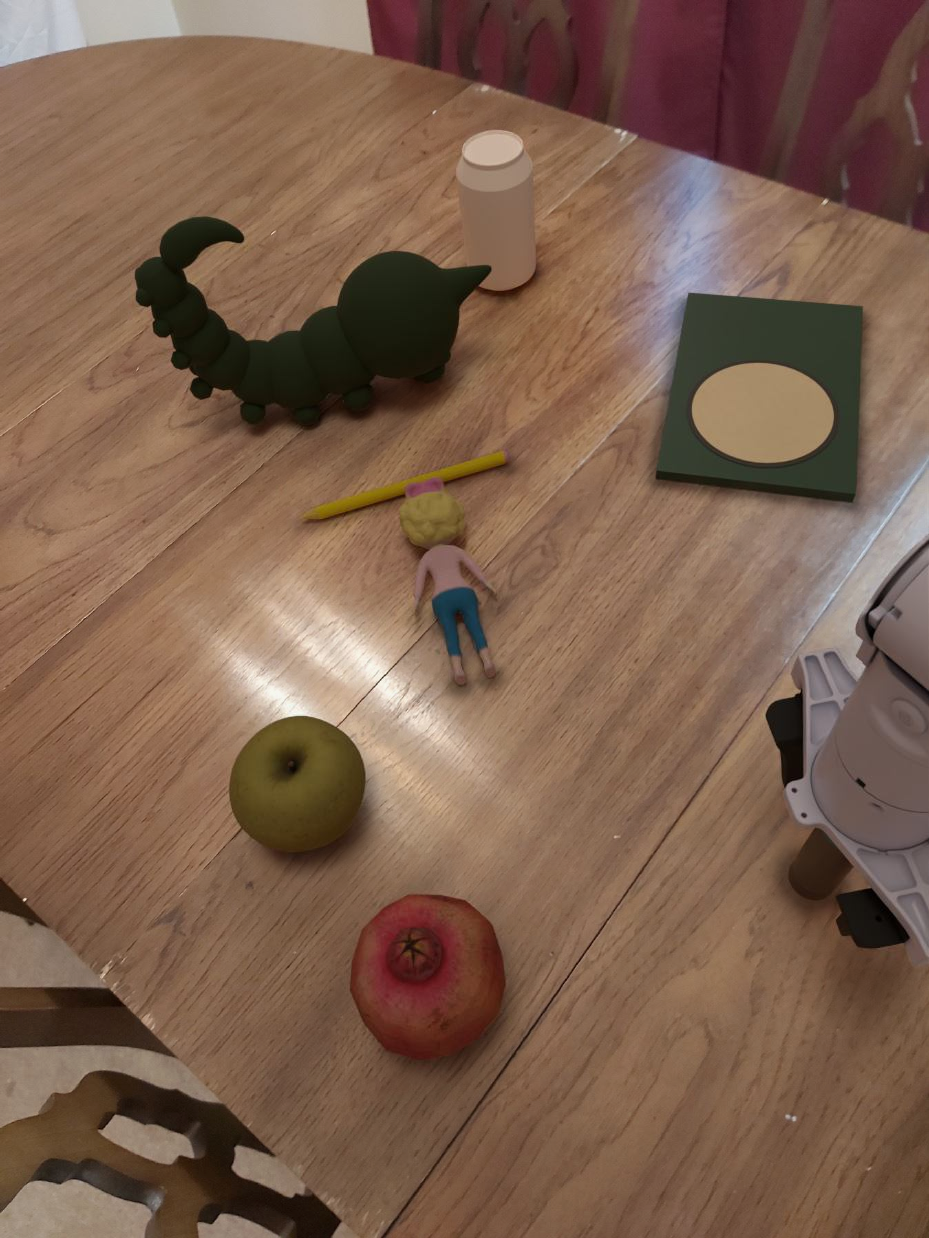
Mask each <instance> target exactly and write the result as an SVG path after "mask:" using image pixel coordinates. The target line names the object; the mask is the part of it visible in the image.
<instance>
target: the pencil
mask: <svg viewBox="0 0 929 1238" xmlns="http://www.w3.org/2000/svg"><path fill="white" fill-rule="evenodd" d="M509 462H510V460H509V455H508V452H507V450H506V449H503V450H500V451H496V452H493V453H490V454H487V455H484V456H480V457H477V458H474V459H471V460H470V459H469V460H468V461H464V462H460V463H456V464H454V465H450V466H447V467H443V468H440V469H437V470H434V471H431V472H427V473H424V474H421V475H417V476H414V477H410V478H408V479H404V480H401V481H398V482H394V483H390V484H388V485H385V486H381V487H378V488H374V489H371V490H367V491H364V492H360V493H357V494H354V495H351V496H348V497H344V498H341V499H338V500H335V501H331V502H327V503H325V504H321V505H318V506H314V507H313V508H312V509H310V510H309V511H307V512H306V513H305V514H303V515H301V516H300V517H299V518H298V519H299V520H323V519H326V518H329V517H330V518H331V517H332V516H336V515H340V514H343V513H346V512H350V511H352V510H355V509H359V508H362V507H366V506H368V505H372V504H377V503H379V502H382V501H386V500H389V499H393V498H396V497H399V496H402V495H405V486H406V485H407V484H409V483H414V482H420V483H421V482H425V481H426V480H428V479H430V478H434V477H440V478H441V479H442V481H443V483H445V482H449V481H451V480H456V479H458V478H461V477H465V476H468V475H472V474H475V473H478V472H479V473H480V472H483V471H486V470H489V469H491V468H495V467H498V466H503V465H505V464H509Z"/></svg>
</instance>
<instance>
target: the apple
mask: <svg viewBox="0 0 929 1238" xmlns="http://www.w3.org/2000/svg"><path fill="white" fill-rule="evenodd" d="M366 783H367V777H366V768H365V763H364V760H363V757H362V754H361V752H360V750H359V748H358V747H357V745H356V744H355V742H354V741H353V740H352V738H351V737H349V735H347V733H346V732H345V731H343V730H342V729H340V728H338V727H337V726H335V724H332V723H330V722H328V721H325V720H323V719H321V718H318V717H314V716H309V715H292V716H286V717H284V718H280V719H278V720H275V721H273V722H270V723H269V724H267V725H265V726H264V727H262V728H261V729H259V731H256V733H255V734H254V735H253V736H251V738H250V739H249V740H248V741H247V742H246V743H245V744H244V746H242V748H241V750H240V751H239V753H238V754H237V757H236V758H235V760H234V763H233V765H232V768H231V772H230V777H229V786H228V792H229V793H228V797H229V803H230V807H231V812H232V814H233V816H234V818H235V820H236V822H237V823H238V825H239V826H240V828H241V829H242V830H243V831H244V832H245V833H246V834H247V835H248V836H249V837H250V839H252V840H254V841H256V843H258V844H261V845H263V846H264V847H267V848H269V849H273V850H276V851H281V852H289V853H293V852H294V853H295V852H307V851H312V850H316V849H320V848H324V847H325V846H327V845H328V846H329V844H332V843H334V842H335V841H336V840H338V839H339V838H341V837H342V836H343V835H344V834H345V833H346V832H347V831H348V830H349V828H350V827H351V825H352V824H353V823H354V822H355V820H356V818H357V816H358V814H359V811H360V810H361V806H362V804H363V800H364V797H365V791H366Z"/></svg>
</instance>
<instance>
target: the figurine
mask: <svg viewBox="0 0 929 1238" xmlns="http://www.w3.org/2000/svg"><path fill="white" fill-rule="evenodd" d="M444 483H445V482H443V481H442V479H441V478H440V477H434V478H430V479H428V480H426V481H425V482H421V483H420V482H414V483H409V484H407V485H406V486H405V494H404V495H405V500H404V502H403V504H401V506H400V508H399V510H398V520H399V525H400V527H401V529H402V532H403V534H405V536H406V537H407V538H408V541H409V542H410V543H411V544H413V545H414V546H419V547H420V546H421V547H422V548H423V549H426V550H427V551H426V552H425V553H424V554H423V556H422V558H421V559H420V560H419V562H418V567H417V569H416V572H415V573H416V574H415V578H414V589H413V598H414V602H413V605H412V615H413V617H416V616H417V614H418V613H417V612H418V610H419V606H420V602H421V600H422V598H423V593H424V589H425V585H426V577H427V573H428V572H429V573H430V575H431V577H432V581H433V586H434V587H433V592H432V596H431V606H432V611H433V614H434V616H435V617H436V620H437V621H438V622H439V624H440V626H441V629H442V631H443V635H444V641H445V644H446V649H447V653H448V655H449V658H450V661H451V663H452V667H453V671H454V680H455V683H456V685H458V686H462V685H464V684H465V683H466V674H465V672H464V670H463V667H462V659H463V655H462V651H461V647H460V638H459V631H458V625H457V622H456V614H459V613H460V614H461V616H462V618H463V619H462V620H463V622H464V626H465V628H466V630H467V632H468V634H469V635H470V637H471V639H472V640H473V642H474V646H475V650H476V653H477V654H478V656H479V657H480V658H481V660H482V662H483V671H484V673H485V676H486V677H487V678H489V679H490V678H492V677H493V678H494V676H495V674H496V668H495V666H494V664H493V662H492V659H491V655H490V650H489V645H488V642H487V638H486V637H487V636H486V635H485V631H484V629H483V626H482V623H481V620H480V615H479V614H480V613H479V600H478V596H477V594H476V591H475V588H474V587H472V586H471V585H470V584H469V583H468V582H467V581H466V580H465V579H464V577H463V574H462V570H461V564H463V565H464V566H465V567H466V568H467V569H468V570H469V571H470V573H471V574H472V575H473V576H474V577H475V579H477V580H478V581H479V583H480V584H482V585H483V586H485V587H486V589H487V590H488V591H489V592H490V593H491V594H492V595H493V596H494V597H497V596H498V593H497V590H496V588H495V587H494V585H493V584H491V583H490V582H489V581H488V578H487V576H486V574H485V573H484V572H483V570H482V569H481V567H480V566H479V564H478V563H477V562H476V561H475V560H474V559H473V558H472V557H471V556H470V555H469V554H468V553H467V552H466V550H464V549H462V548H460V547H459V546H456V545H454V544H451V543H452V542H453V541H454V539H456V538H458V537H459V536H461V535H462V534H463V533H464V531H465V530H466V523H465V521H464V519H465V517H466V509H465V506H464V505H463V503H462V502H461V501H459V500H457V499H455V498H454V496H453V495H452V494H451V493H450V492H449V491H448V490H446V489H445V484H444Z"/></svg>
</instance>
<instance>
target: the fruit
mask: <svg viewBox="0 0 929 1238" xmlns="http://www.w3.org/2000/svg"><path fill="white" fill-rule="evenodd" d="M350 968H351V969H350V979H349V992H350V994H351V997H352V999H353V1001H354V1004H355V1006H356V1009H357V1011H358V1014H359V1016H360V1019H361V1021H362V1023H363V1025H364V1026H365V1027H366V1028H367V1030H368V1031H369V1032H370V1033H371V1035H372V1036H373V1037H374V1038H375V1039H376V1040H377V1042H378V1043H379V1045H381V1047H382V1048H383V1049H384V1050H385V1051H386V1052H388V1053H391V1054H396V1055H399V1056H403V1057H406V1058H409V1059H413V1060H417V1061H419V1062H423V1061H429V1060H433V1059H438V1058H442V1057H445V1056H451V1055H454V1054H456V1053H457V1052H458V1051H460V1050H462V1049H464V1048H465V1047H467V1046H468V1045H470V1044H472V1043H473V1042H475V1041H477V1040H479V1038H480V1037H481V1036H482V1034H483V1033H484V1032H485V1031H486V1030H487V1029H488V1028H489V1026H490V1025H492V1023H493V1022H494V1021H495V1019H496V1018H497V1017H498V1016H499V1014H500V1011H501V1006H502V1003H503V998H504V994H505V990H506V985H507V982H506V974H505V965H504V957H503V954H502V952H501V947H500V944H499V941H498V937H497V934H496V930H495V928H494V925H493V923H492V922H491V921H490V920H489V919H488V918H487V917H485V916H484V915H483V914H482V913H481V912H480V911H479V910H478V909H477V908H475V907H474V906H473V905H472V904H471V903H470V902H469V901H467V900H466V899H463V898H458V897H452V896H448V895H444V894H415V893H414V894H406V895H404V896H402V897H400V898H399V899H396V900H395V901H393V902H391V903H389V904H387V905H386V906H384V907H383V908H381V909H380V911H378V913H376V914H375V915H374V916H373V917H372V918H371V919H370V920H369V922H367V923H366V924H365V926H363V927H362V928H361V931H360V934H359V937H358V940H357V943H356V947H355V949H354V953H353V956H352V958H351V967H350Z"/></svg>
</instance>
